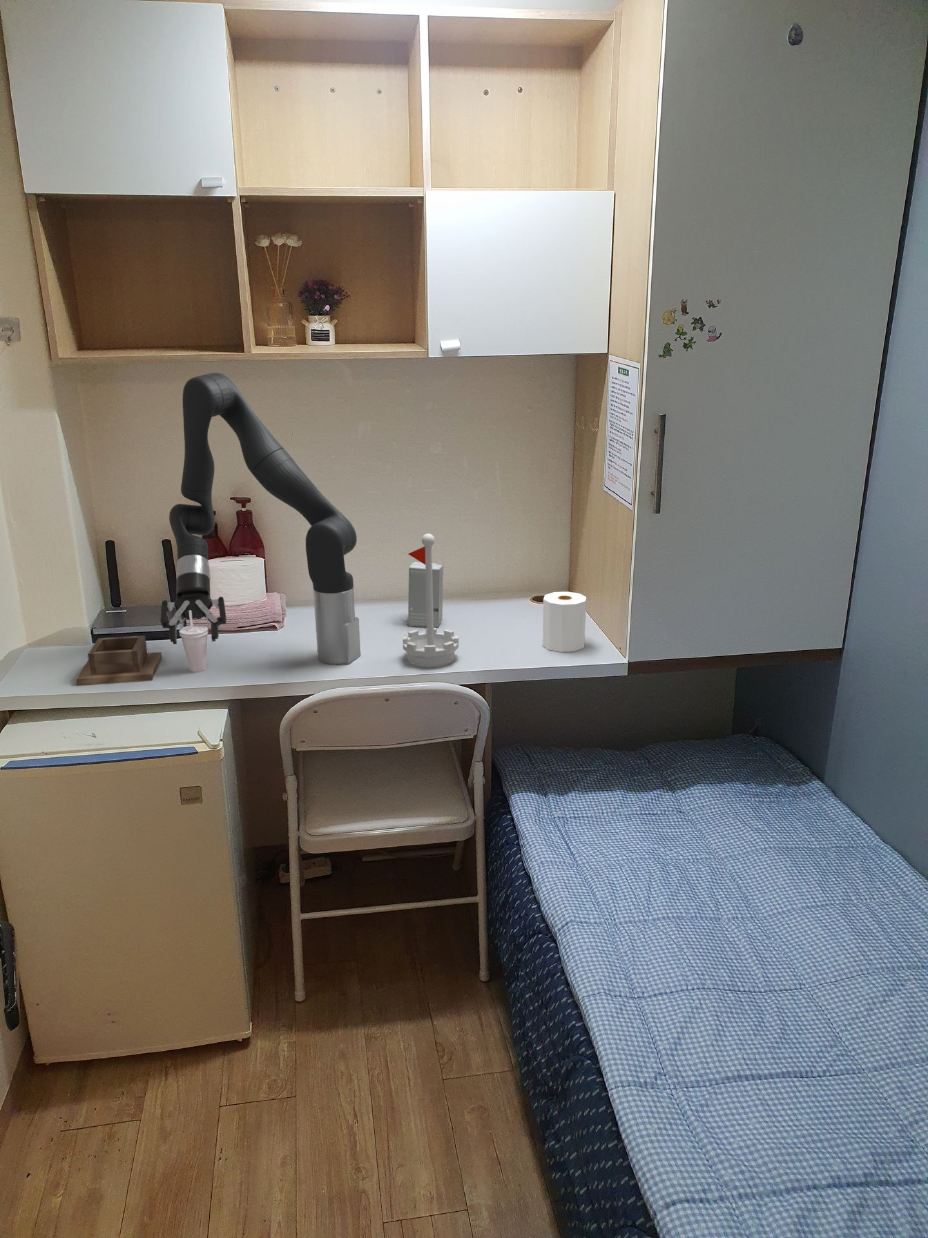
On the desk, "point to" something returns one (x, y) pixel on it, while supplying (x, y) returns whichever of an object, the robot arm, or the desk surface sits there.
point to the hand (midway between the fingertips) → (194, 641)
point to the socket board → (119, 661)
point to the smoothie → (195, 645)
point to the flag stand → (429, 623)
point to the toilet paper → (564, 621)
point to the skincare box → (424, 594)
